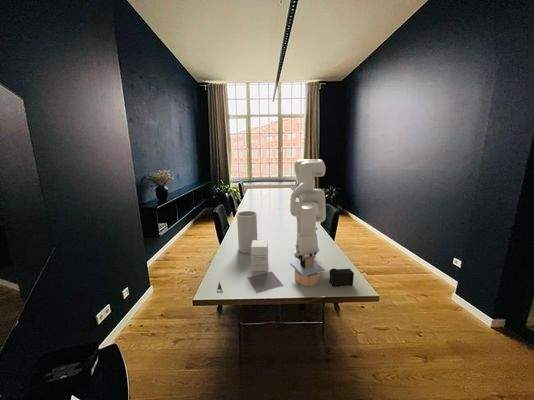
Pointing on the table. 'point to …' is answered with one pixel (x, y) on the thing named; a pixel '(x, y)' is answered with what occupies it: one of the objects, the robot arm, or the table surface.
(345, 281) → the digital camera
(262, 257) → the supplement box
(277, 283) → the mat
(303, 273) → the lid
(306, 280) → the bowl
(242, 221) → the cylinder vase
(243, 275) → the table surface
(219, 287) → the smartphone
